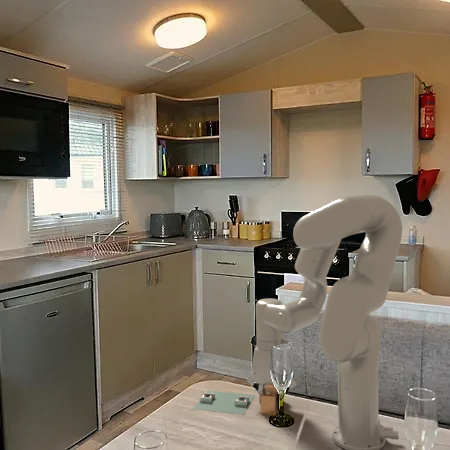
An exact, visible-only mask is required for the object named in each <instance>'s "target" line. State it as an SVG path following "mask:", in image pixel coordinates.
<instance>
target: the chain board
mask: <svg viewBox="0 0 450 450" xmlns="http://www.w3.org/2000/svg"><path fill="white" fill-rule="evenodd" d="M205 393H215V399H212V403H205V402H200V399H199V400H198V401H197V402H196V404H195V405H194V406H193V408H192V410H199V411H207V412H218V413H226V414H235V415H242V416H243V415H245V413H246V411H247V410H248V408H249V407H250V405H251V403H252V401H253V400H254V398H255V397H256V394H250V393H249V394H248V393H246V394H245V393H236V392H228V391H227V392H225V391H218V390H217V391H215V390H207V391H206V392H205ZM237 396H245V397H249V399H250V402H248V403H247V407H243V406H235V405H234V401H235V400H237Z"/></svg>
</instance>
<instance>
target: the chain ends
mask: <svg viewBox="0 0 450 450" xmlns="http://www.w3.org/2000/svg"><path fill="white" fill-rule="evenodd" d="M212 399H215V393H206V392H203V394H202V396H199V400H200V402H205V403H212ZM248 402H250V399H249V397H245V396H237V400H235V401H234V405H235V406H243V407H247V403H248Z"/></svg>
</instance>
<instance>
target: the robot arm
mask: <svg viewBox="0 0 450 450" xmlns="http://www.w3.org/2000/svg"><path fill="white" fill-rule="evenodd" d="M361 233H365V237H364V239H363V241H362V243H361V245H360V248H359V250H358V253H357V257H356V261H355V264H354V268H353V271H352V273H350V275H348V276H347V275H346V276H345V277H342V278H339V279H338V280H337V281H336V282H334V284H333V285H332V286H331V288H330V290H329V293H328V281H327V275H328V273H329V272H330V271H329V270H330V268H331V266H332V263H333V261H334V258H335V256H336V253H337V251H338V248H339V246H340V243H341V241H342V239H344V238H345V239H346V237H349V236H352V235H356V234H361ZM292 236H293V237H292V238H293V241H294V243H295V244H296V246H297V247H298V248H299V249H300V250H299V252H298V255H297V258H296V260H295V264H294V269H295V271H296V272H297V274H299V275H300V276H301V277H303V279H304V283H303V287H302V290H301V292H300V295H299V296H298V298H297V299H296V300H293V301H290V302H289V301H288V302H287V303H283V302H282V301H281V300H280V299H278V298H277V299H276V298H271V297H270V298H268V297H267V298H261V299H259V300H257V302H256V304H255V320H256V321H255V323H256V324H255V325H256V329H255V330H256V333H255V334H256V346H255V347H254V350H253V360H252V372H251V374H250V375H249V377H248V378H247V380H246V382H247V383H248V384H249V385H250V386H252V387H253V388H254V389H255V391H256V392H257V393H258V395H259V396H260V395H261V394H262V392H263V390H264V389H265V387H266V385H273V382H272V379H271V375H270V368H269V363H270V351H271V348H272V347H273V346H277V345H280V344H288V345H289V346H290V341H289V340H287V339H286V338H285V335H284V334H291V333H294V332H297V331H298V330H301V329H303V328H306V327H309V326H311V325H313V323H315V321H317V320H318V317H319V316H320V314H321V312H322V309H323V307H324V305H325V307H324V310H323V315H322V319H321V324H320V328H319V331H318V332H319V333H318V343H319V344H318V345H319V348H320V351H321V352H322V354H323V356H324V357H325V358H326V359H328V360H329V361H330V362H333V363H336V364H337V412H338V413H337V414H338V415H337V416H338V417H337V418H338V419H337V420H338V425H337V427H335V428H334V429H333V430H332V431H331V437H332V441H333V442H334V443H335V445H336V446H338V447H340V448H342V449H344V450H381V449H382V448H383V447H384V446H385V445H386V439H390V440H391V439H392V440H399V430H394V427H393V426H389V425H388V426H384V425H383V424H381V419H380V418H379V358H380V357H379V356H380V350H381V345H382V344H381V343H382V331H381V327H380V324H379V322H378V320H377V319H376V318H375V317H374V316H373V315H372V314H371V313H373V312H375V311H378V309H380V308H382V306H383V305H384V304H385V302H386V300H387V296H388V292H389V289H390V284H391V281H392V276H393V273H394V269H395V264H396V261H397V257H398V255H399V251H400V250H399V249H400V247H401V243H402V238H403V222H402V219H401V216H400V214H399V212H398V211H397V209H396V208H395V206H394V205H393V204H392V202H390V201H388V200H387V199H386V198H384V197H381V196H378V195H375V194H374V195H372V194H363V195H352V196H345V197H341V198H339V199H335V200H334V201H332V202H330V203H328V204H326V205H324V206H322V207H320V208H318V209H315V210H314V211H311V212H309V213H308V214H305V215H304V216H302V217H300V218H299V220H297V222H296V223H295V225H294V227H293V234H292ZM327 295H328V296H327ZM296 386H297V382H296V381H295V379H294V377H292V381H291V384H290V386H289V387H288V388H287V390H286V393H287V392H289V391H290V390H292V389H293V388H295V387H296ZM259 404H260V405H261V399H260V398H259ZM278 411H280V410H279V394H278Z"/></svg>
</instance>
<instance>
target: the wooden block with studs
mask: <svg viewBox="0 0 450 450" xmlns="http://www.w3.org/2000/svg"><path fill="white" fill-rule="evenodd" d="M260 399H261V404H260V414H261V415H268V416H276V415H277V413H278V411H279V410H278V392H277V390H276V389H275V387H274V385H265V388H264V390H263V392H262V394H261V395H259V400H260Z"/></svg>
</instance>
